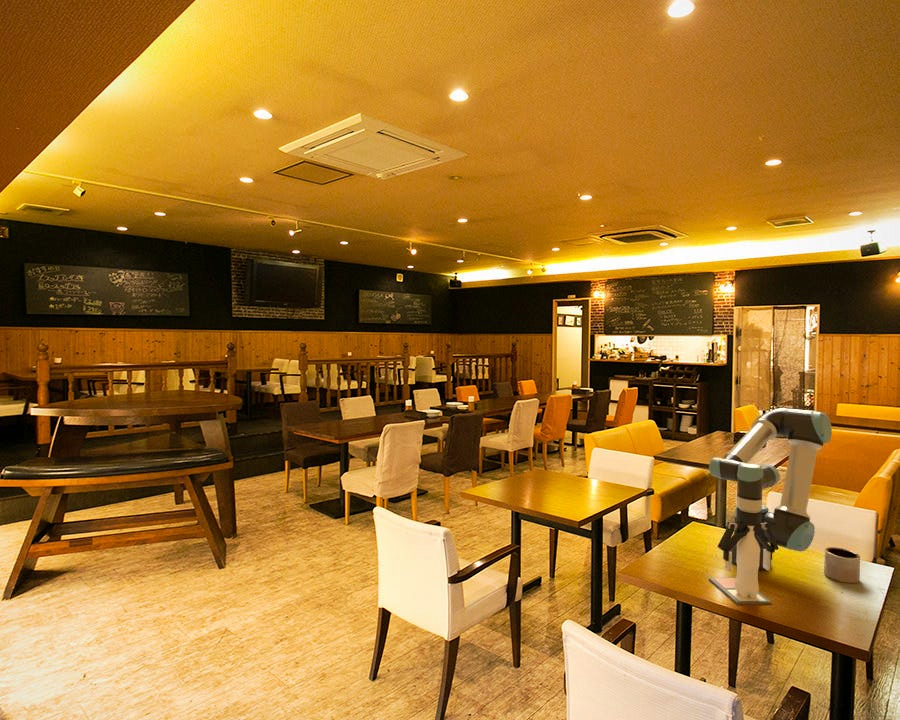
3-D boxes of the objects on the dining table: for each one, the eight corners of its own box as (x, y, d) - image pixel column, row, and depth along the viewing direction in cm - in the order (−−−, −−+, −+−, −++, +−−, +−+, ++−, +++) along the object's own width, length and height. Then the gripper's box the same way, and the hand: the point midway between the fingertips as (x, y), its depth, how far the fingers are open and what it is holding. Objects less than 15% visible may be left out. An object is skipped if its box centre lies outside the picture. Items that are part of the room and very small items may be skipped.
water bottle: (730, 590, 185) (732, 521, 184) (749, 589, 185) (752, 520, 184) (743, 600, 178) (746, 528, 176) (763, 599, 178) (766, 528, 177)
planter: (854, 574, 200) (855, 550, 200) (863, 586, 190) (864, 560, 190) (820, 569, 205) (821, 545, 204) (827, 580, 195) (828, 555, 195)
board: (740, 579, 195) (740, 577, 195) (771, 603, 177) (771, 601, 177) (708, 579, 195) (708, 577, 195) (736, 604, 177) (736, 601, 177)
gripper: (777, 505, 184) (775, 563, 185) (707, 506, 183) (706, 565, 185) (791, 512, 177) (789, 573, 178) (719, 513, 176) (718, 574, 177)
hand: (747, 569), depth 181 cm, fingers open, 13 cm apart
